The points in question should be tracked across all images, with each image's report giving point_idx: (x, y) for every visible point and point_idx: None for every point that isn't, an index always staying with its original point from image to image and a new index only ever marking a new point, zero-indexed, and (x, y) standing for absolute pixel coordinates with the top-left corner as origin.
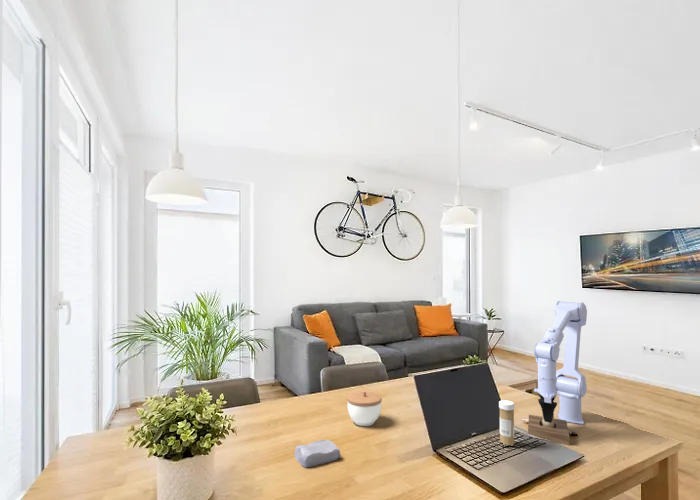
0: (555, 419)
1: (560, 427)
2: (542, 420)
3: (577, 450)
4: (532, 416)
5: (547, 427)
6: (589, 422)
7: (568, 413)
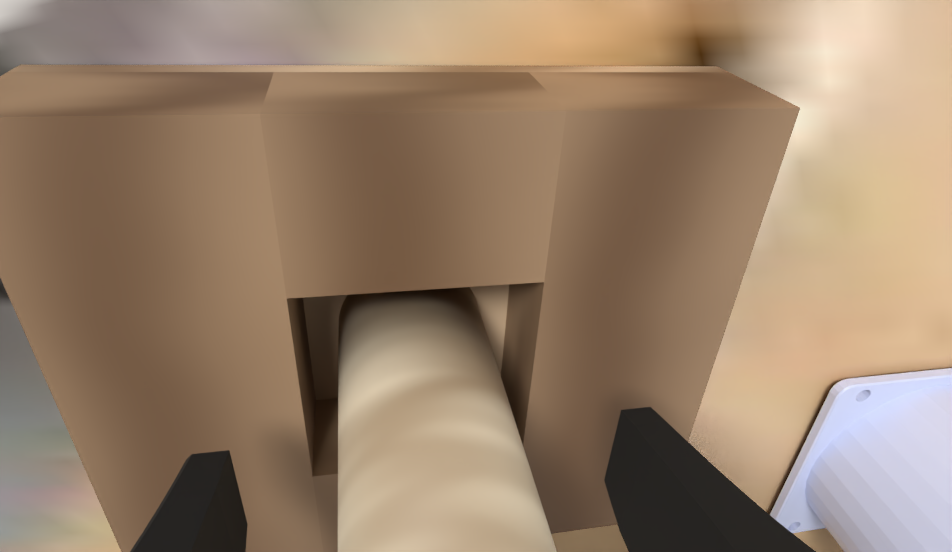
0: None
1: None
2: (415, 362)
3: (78, 545)
4: (704, 171)
5: (269, 395)
6: (826, 541)
7: (874, 513)
